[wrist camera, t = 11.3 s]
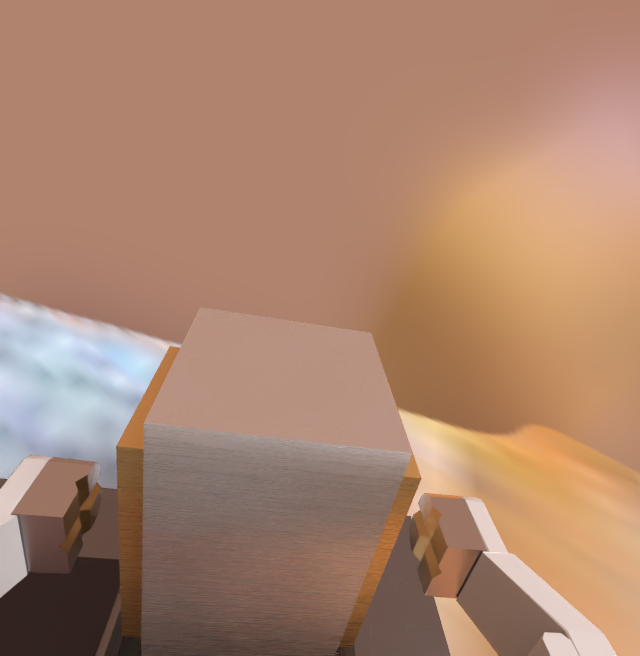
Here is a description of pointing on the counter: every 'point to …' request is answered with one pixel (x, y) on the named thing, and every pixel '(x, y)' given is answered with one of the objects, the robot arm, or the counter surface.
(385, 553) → the brushed metal pillar
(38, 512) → the robot arm
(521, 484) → the counter surface
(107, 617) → the rail
